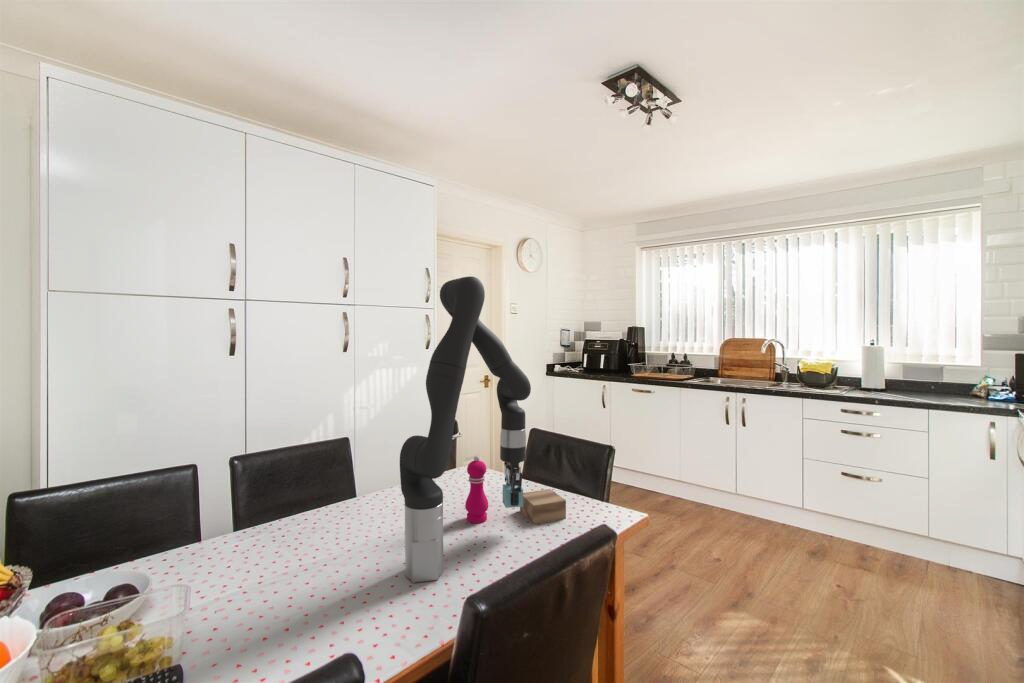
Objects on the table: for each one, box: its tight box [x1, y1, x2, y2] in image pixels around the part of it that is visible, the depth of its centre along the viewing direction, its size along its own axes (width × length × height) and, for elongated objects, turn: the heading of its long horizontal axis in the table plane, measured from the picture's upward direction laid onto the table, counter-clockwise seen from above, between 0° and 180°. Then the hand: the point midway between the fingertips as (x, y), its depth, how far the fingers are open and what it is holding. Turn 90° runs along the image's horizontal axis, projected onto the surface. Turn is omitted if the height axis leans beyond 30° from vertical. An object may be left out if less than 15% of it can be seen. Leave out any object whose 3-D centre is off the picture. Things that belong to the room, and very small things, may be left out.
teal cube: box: [502, 484, 524, 509], centre depth 135 cm, size 5×5×5 cm
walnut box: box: [519, 488, 567, 525], centre depth 148 cm, size 11×11×6 cm
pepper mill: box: [464, 455, 489, 524], centre depth 144 cm, size 7×7×20 cm
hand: (512, 501), depth 135 cm, fingers closed on teal cube, 5 cm apart
